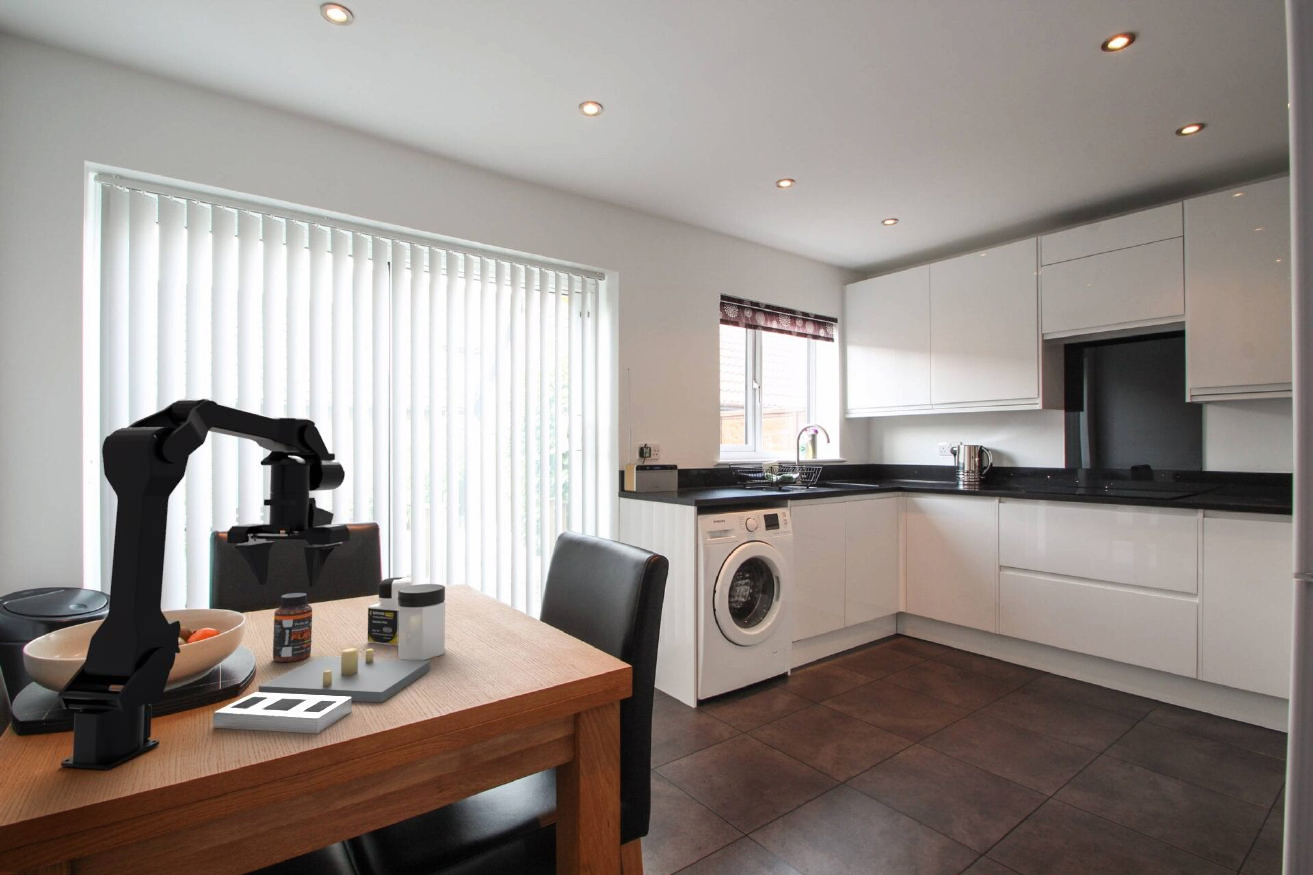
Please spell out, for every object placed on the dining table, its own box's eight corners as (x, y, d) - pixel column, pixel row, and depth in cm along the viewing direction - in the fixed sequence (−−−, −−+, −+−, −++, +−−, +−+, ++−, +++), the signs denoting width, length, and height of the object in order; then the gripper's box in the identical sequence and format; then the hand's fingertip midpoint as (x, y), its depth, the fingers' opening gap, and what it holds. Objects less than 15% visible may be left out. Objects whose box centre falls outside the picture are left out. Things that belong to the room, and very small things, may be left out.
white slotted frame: (351, 711, 85) (351, 696, 85) (317, 733, 78) (317, 717, 78) (255, 706, 87) (255, 692, 87) (213, 727, 80) (213, 712, 80)
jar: (385, 660, 107) (386, 592, 107) (409, 646, 115) (409, 583, 116) (434, 661, 106) (434, 593, 107) (453, 647, 114) (454, 584, 115)
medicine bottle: (366, 643, 117) (367, 581, 118) (392, 633, 124) (393, 574, 125) (396, 646, 115) (397, 583, 116) (421, 635, 122) (422, 576, 123)
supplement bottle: (293, 664, 105) (294, 599, 105) (264, 662, 106) (265, 597, 107) (318, 653, 111) (320, 591, 111) (291, 651, 112) (292, 590, 112)
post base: (382, 702, 88) (382, 667, 88) (258, 696, 91) (259, 662, 91) (429, 669, 102) (430, 639, 102) (321, 665, 104) (322, 636, 105)
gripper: (370, 490, 108) (368, 577, 107) (276, 490, 111) (274, 575, 110) (328, 493, 97) (326, 591, 96) (225, 493, 100) (222, 588, 99)
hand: (287, 585), depth 101 cm, fingers open, 9 cm apart
